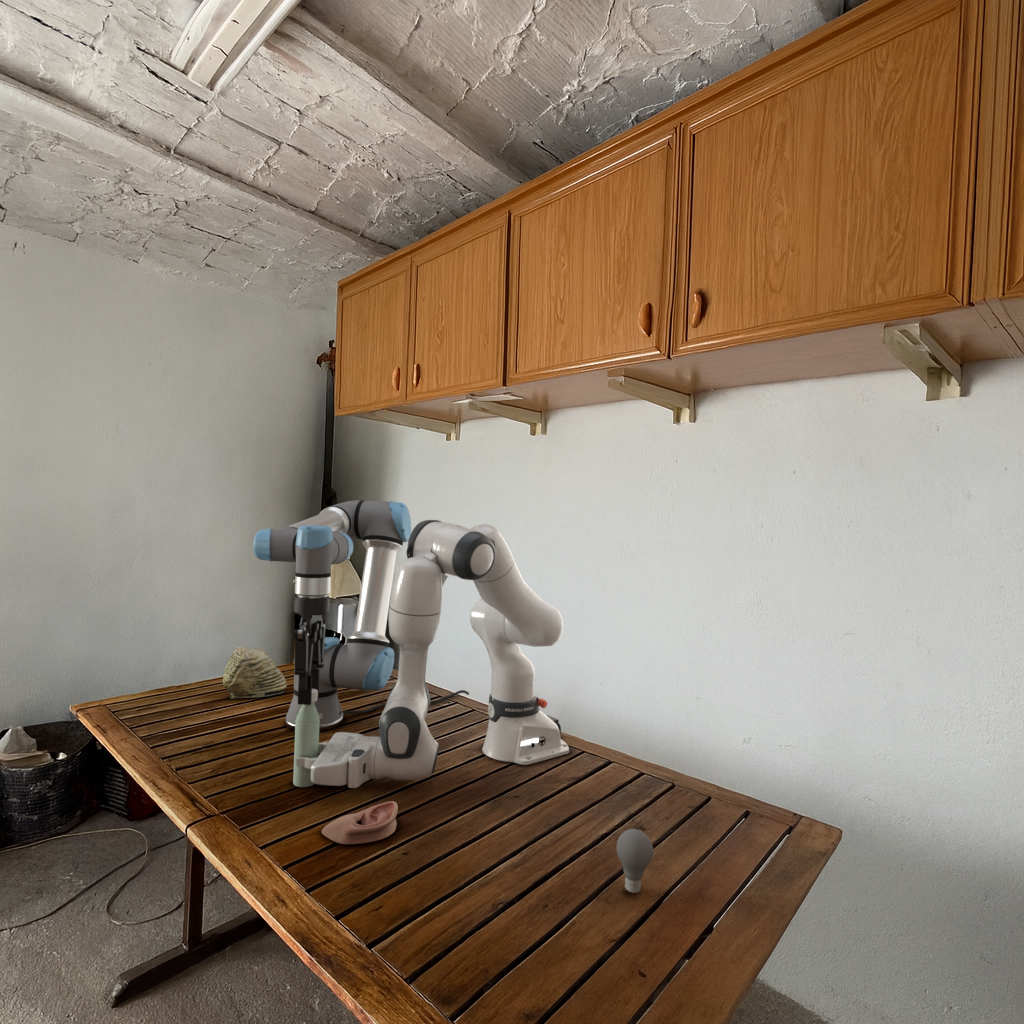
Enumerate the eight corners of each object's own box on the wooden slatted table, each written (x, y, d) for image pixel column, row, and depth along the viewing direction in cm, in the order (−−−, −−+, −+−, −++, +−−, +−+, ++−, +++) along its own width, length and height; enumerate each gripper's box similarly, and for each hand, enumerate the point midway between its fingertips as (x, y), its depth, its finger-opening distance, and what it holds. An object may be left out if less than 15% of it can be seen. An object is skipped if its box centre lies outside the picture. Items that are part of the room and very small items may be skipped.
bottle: (299, 776, 143) (302, 688, 143) (320, 778, 143) (324, 690, 142) (289, 786, 138) (292, 695, 138) (311, 788, 138) (315, 697, 137)
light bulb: (610, 879, 108) (613, 822, 108) (644, 879, 109) (647, 822, 109) (619, 902, 102) (622, 840, 102) (655, 901, 103) (658, 840, 103)
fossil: (218, 695, 195) (220, 647, 195) (278, 685, 208) (279, 640, 207) (228, 703, 189) (230, 653, 188) (289, 692, 201) (290, 645, 201)
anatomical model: (313, 818, 117) (342, 790, 128) (313, 839, 117) (341, 810, 128) (381, 829, 114) (404, 800, 125) (380, 850, 114) (403, 819, 125)
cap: (303, 697, 142) (303, 687, 142) (320, 698, 142) (320, 689, 142) (296, 702, 138) (296, 693, 138) (313, 703, 138) (313, 694, 138)
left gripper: (309, 589, 148) (305, 688, 149) (279, 600, 131) (275, 712, 132) (341, 590, 148) (337, 690, 148) (315, 602, 131) (311, 714, 131)
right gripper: (374, 726, 151) (316, 724, 150) (355, 761, 130) (287, 759, 130) (373, 752, 151) (315, 750, 151) (353, 792, 130) (286, 789, 130)
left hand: (308, 700), depth 140 cm, fingers closed on cap, 4 cm apart
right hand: (302, 754), depth 140 cm, fingers closed on bottle, 5 cm apart
